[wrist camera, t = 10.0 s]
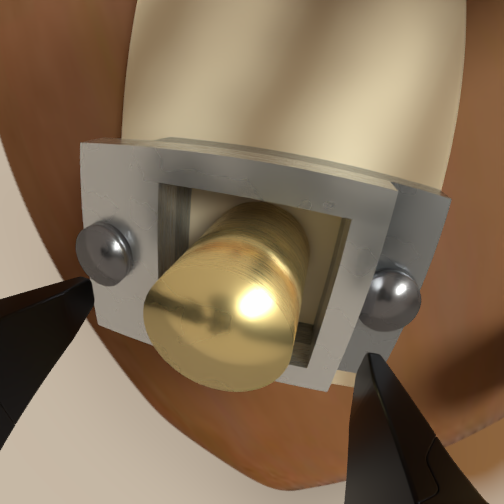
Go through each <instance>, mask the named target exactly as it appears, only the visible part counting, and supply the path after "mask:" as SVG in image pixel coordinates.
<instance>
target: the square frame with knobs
mask: <svg viewBox="0 0 504 504" xmlns="http://www.w3.org/2000/svg"><path fill="white" fill-rule="evenodd" d="M80 175H81V198H82V213H83V225H84V229H83V230H82V231H81V232H80V233H79V235H78V237H77V240H76V253H77V257H78V260H79V263H80V265H81V267H82V268H83V270H84V271H85V273H86V274H87V275H88V276H89V277H90V280H91V282H92V286H93V292H94V298H95V302H94V306H95V311H96V316H97V321H98V325H100V326H103V327H105V328H108V329H110V330H113V331H115V332H118V333H120V334H123V335H126V336H128V337H131V338H134V339H136V340H139V341H142V342H145V343H147V344H150V345H153V344H152V342H151V341H150V339H149V336H148V334H147V332H146V328H145V325H144V319H143V307H144V302H145V299H146V296H147V294H148V292H149V290H150V289H151V287H152V286H153V285H154V284H155V283H156V282H157V281H158V279H159V278H160V277H161V276H162V275H163V274H164V273H165V272H166V271H167V270H168V269H169V268H170V267H171V266H172V265H173V264H174V263H175V262H176V261H177V260H178V259H179V258H180V257H181V256H182V255H183V254H184V253H185V252H186V251H187V250H188V249H189V228H190V209H191V193H192V188H195V189H201V190H207V191H213V192H218V193H224V194H230V195H235V196H241V197H246V198H251V199H257V200H262V201H267V202H272V203H277V204H282V205H287V206H292V207H297V208H302V209H306V210H311V211H316V212H320V213H325V214H330V215H334V216H339V217H342V220H341V224H340V228H339V232H338V236H337V240H336V244H335V248H334V252H333V256H332V260H331V263H330V267H329V271H328V275H327V278H326V282H325V286H324V289H323V293H322V296H321V300H320V303H319V307H318V310H317V313H316V317H315V320H314V323H313V325H312V324H307V323H303V322H298V326H297V331H296V336H295V341H294V346H293V351H292V356H291V360H290V362H289V365H288V367H287V368H286V370H285V371H284V373H283V374H282V375H281V376H280V377H279V378H278V379H276V380H275V381H277V382H282V383H286V384H291V385H295V386H300V387H305V388H310V389H315V390H320V391H325V392H327V391H328V389H329V387H330V384H331V382H332V380H333V378H334V376H335V373H336V371H337V370H341V371H346V372H352V373H357V371H358V368H359V366H360V364H361V362H362V360H363V358H364V356H365V354H366V353H368V352H371V353H377V354H380V355H381V356H382V357H383V359H384V360H385V362H386V361H387V359H388V357H389V355H390V353H391V351H392V350H393V348H394V346H395V344H396V342H397V340H398V338H399V335H400V333H401V331H402V329H403V327H404V326H406V325H407V324H409V323H410V322H411V321H412V320H413V319H414V318H415V316H416V315H417V313H418V311H419V309H420V305H421V294H420V289H421V286H422V284H423V281H424V279H425V276H426V274H427V271H428V269H429V266H430V263H431V261H432V258H433V255H434V252H435V250H436V247H437V244H438V241H439V238H440V235H441V232H442V229H443V226H444V223H445V220H446V216H447V213H448V210H449V206H450V203H451V198H449V197H448V196H447V195H446V194H444V193H443V192H442V191H441V190H439V189H436V188H433V187H430V186H426V185H423V184H420V183H416V182H413V181H409V180H406V179H402V178H398V177H395V176H391V175H387V174H383V173H379V172H375V171H371V170H367V169H363V168H359V167H355V166H351V165H346V164H342V163H337V162H333V161H328V160H323V159H318V158H313V157H308V156H303V155H298V154H293V153H287V152H281V151H276V150H270V149H263V148H257V147H251V146H244V145H237V144H230V143H222V142H214V141H206V140H197V139H187V138H177V137H167V138H162V139H158V140H153V141H151V140H138V139H122V138H99V139H94V140H90V141H85V142H81V143H80Z"/></svg>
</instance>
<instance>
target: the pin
mask: <svg viewBox="0 0 504 504" xmlns="http://www.w3.org/2000/svg"><path fill="white" fill-rule="evenodd" d="M309 258H310V246H309V241H308V238H307V235H306V233H305V231H304V229H303V227H302V226H301V224H300V223H299V222H298V220H297V219H296V218H295V217H294V216H293V215H291V214H290V213H289V212H287V211H286V210H284V209H282V208H281V207H279V206H276V205H274V204H270V203H266V202H246V203H242V204H239V205H237V206H234V207H232V208H231V209H229V210H228V211H227V212H225V213H224V214H223V215H222V216H221V217H220V218H219V219H218V220H217V221H216V222H215V223H214V224H213V225H212V226H211V227H210V228H209V229H208V230H207V231H206V232H205V233H204V234H203V235H202V236H201V237H200V238H199V239H198V240H197V241H196V242H195V243H194V244H193V245H192V246H191V247H190V248H189V249H188V250H187V251H186V252H185V253H184V254H183V255H182V256H181V257H180V258H179V259H178V260H177V261H176V262H175V263H174V264H173V265H172V266H171V267H170V268H169V269H168V270H167V271H166V272H165V273H164V274H163V275H162V276H161V277H160V278H159V279H158V281H157V282H156V283H155V284H154V285H153V286H152V287H151V289H150V290H149V292H148V294H147V296H146V299H145V302H144V307H143V319H144V325H145V328H146V332H147V334H148V336H149V339H150V341H151V342H152V344H153V346H154V347H155V349H156V350H157V352H158V353H159V354H160V355H161V357H162V358H163V359H164V360H165V361H166V362H167V363H168V364H169V365H170V366H171V367H173V368H174V369H175V370H176V371H178V372H179V373H181V374H182V375H184V376H185V377H187V378H189V379H191V380H192V381H194V382H197V383H199V384H201V385H204V386H207V387H210V388H213V389H217V390H223V391H232V392H243V391H251V390H255V389H259V388H262V387H264V386H267V385H269V384H270V383H272V382H274V381H275V380H276V379H278V378H279V377H280V376H281V375H282V374H283V373H284V371H285V370H286V368H287V367H288V365H289V362H290V360H291V356H292V351H293V346H294V341H295V336H296V331H297V326H298V320H299V315H300V310H301V304H302V299H303V293H304V288H305V282H306V276H307V270H308V264H309Z"/></svg>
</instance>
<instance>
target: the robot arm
mask: <svg viewBox="0 0 504 504" xmlns="http://www.w3.org/2000/svg"><path fill="white" fill-rule="evenodd" d="M94 302H95V298H94V292H93V286H92V282H91V280H90V279H87V278H85V277H77V278H73V279H70V280H66V281H62V282H59V283H55V284H52V285H49V286H45V287H41V288H38V289H34V290H31V291H27V292H24V293H20V294H17V295H13V296H10V297H7V298H3V299H0V450H1V448H2V447H3V445H4V443H5V441H6V440H7V438H8V436H9V435H10V433H11V431H12V430H13V428H14V426H15V424H16V423H17V421H18V420H19V418H20V416H21V415H22V413H23V412H24V410H25V409H26V407H27V405H28V404H29V402H30V401H31V399H32V398H33V396H34V395H35V393H36V392H37V390H38V389H39V387H40V385H41V384H42V383H43V381H44V380H45V378H46V377H47V375H48V374H49V372H50V371H51V369H52V368H53V367H54V365H55V364H56V362H57V361H58V360H59V358H60V357H61V355H62V354H63V353H64V351H65V350H66V348H67V347H68V346H69V344H70V343H71V342H72V340H73V339H74V337H75V335H76V334H77V332H78V331H79V329H80V327H81V325H82V324H83V322H84V320H85V319H86V317H87V316H88V314H89V312H90V311H91V309H92V307H93V306H94ZM344 504H489V503H487V502H486V501H485V500H484V499H483V497H482V496H481V495H480V494H479V493H478V491H477V490H476V489H475V488H474V486H473V485H472V484H471V482H470V481H469V480H468V479H467V477H466V476H465V475H464V474H463V472H462V471H461V470H460V468H459V467H458V466H457V465H456V463H455V462H454V461H453V459H452V458H451V457H450V455H449V454H448V452H447V451H446V449H445V448H444V446H443V445H442V443H441V442H440V440H439V439H438V437H436V434H435V433H434V431H433V430H432V428H431V427H430V425H429V424H428V422H427V421H426V419H425V418H424V416H423V415H422V413H421V412H420V410H419V409H418V407H417V406H416V405H415V403H414V402H413V400H412V399H411V397H410V396H409V394H408V393H407V391H406V390H405V389H404V387H403V386H402V384H401V383H400V381H399V380H398V379H397V377H396V376H395V374H394V373H393V371H392V370H391V369H390V367H389V366H388V364H387V363H386V362H385V360H384V359H383V357H382V356H381V355H380V354H377V353H371V352H368V353H366V354H365V356H364V358H363V360H362V362H361V364H360V366H359V368H358V371H357V373H356V377H355V385H354V393H353V400H352V407H351V414H350V422H349V444H348V464H347V479H346V491H345V502H344Z"/></svg>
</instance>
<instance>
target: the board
mask: <svg viewBox="0 0 504 504" xmlns="http://www.w3.org/2000/svg"><path fill="white" fill-rule="evenodd" d="M465 39H466V0H138V1H137V6H136V11H135V17H134V22H133V28H132V35H131V41H130V48H129V56H128V64H127V72H126V82H125V93H124V105H123V119H122V139H138V140H151V141H153V140H158V139H162V138H167V137H177V138H187V139H197V140H206V141H214V142H222V143H230V144H237V145H244V146H251V147H257V148H263V149H270V150H276V151H281V152H287V153H293V154H298V155H303V156H308V157H313V158H318V159H323V160H328V161H333V162H337V163H342V164H346V165H351V166H355V167H359V168H363V169H367V170H371V171H375V172H379V173H383V174H387V175H391V176H395V177H398V178H402V179H406V180H409V181H413V182H416V183H420V184H423V185H426V186H430V187H433V188H436V189H439V190H441V188H442V185H443V181H444V177H445V173H446V169H447V164H448V160H449V156H450V151H451V146H452V141H453V136H454V131H455V125H456V120H457V114H458V107H459V101H460V93H461V86H462V77H463V67H464V55H465ZM246 202H266V203H270V204H274V205H276V206H279V207H281V208H282V209H284V210H286V211H287V212H289V213H290V214H291V215H293V216H294V217H295V218H296V219H297V220H298V222H299V223H300V224H301V226H302V227H303V229H304V231H305V233H306V235H307V238H308V241H309V246H310V258H309V264H308V270H307V276H306V282H305V288H304V293H303V299H302V304H301V310H300V315H299V320H298V322H303V323H307V324H312V325H313V323H314V320H315V317H316V313H317V310H318V307H319V303H320V300H321V296H322V293H323V289H324V286H325V282H326V278H327V275H328V271H329V267H330V263H331V260H332V256H333V252H334V248H335V244H336V240H337V236H338V232H339V228H340V224H341V220H342V217H339V216H334V215H330V214H325V213H320V212H316V211H311V210H306V209H302V208H297V207H292V206H287V205H282V204H277V203H272V202H267V201H262V200H257V199H251V198H246V197H241V196H235V195H230V194H224V193H218V192H213V191H207V190H201V189H195V188H192V193H191V209H190V228H189V248H190V247H191V246H192V245H193V244H194V243H195V242H196V241H197V240H198V239H199V238H200V237H201V236H202V235H203V234H204V233H205V232H206V231H207V230H208V229H209V228H210V227H211V226H212V225H213V224H214V223H215V222H216V221H217V220H218V219H219V218H220V217H221V216H222V215H223V214H224V213H225V212H227V211H228V210H229V209H231V208H232V207H234V206H237V205H239V204H242V203H246ZM355 377H356V373H352V372H346V371H341V370H337V371H336V373H335V376H334V378H333V380H332V382H331V383H332V384H337V385H343V386H349V387H354V385H355Z"/></svg>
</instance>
